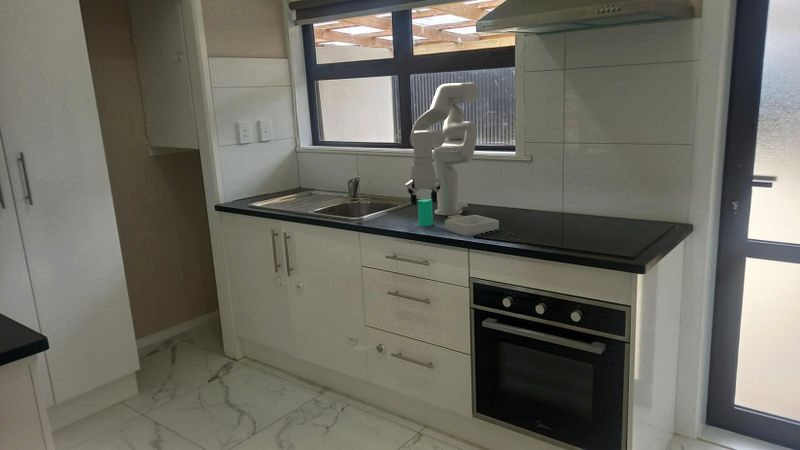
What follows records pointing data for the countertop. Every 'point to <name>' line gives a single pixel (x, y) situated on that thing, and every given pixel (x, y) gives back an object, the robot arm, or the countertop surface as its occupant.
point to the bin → (471, 225)
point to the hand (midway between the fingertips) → (424, 203)
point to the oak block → (454, 216)
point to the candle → (425, 212)
